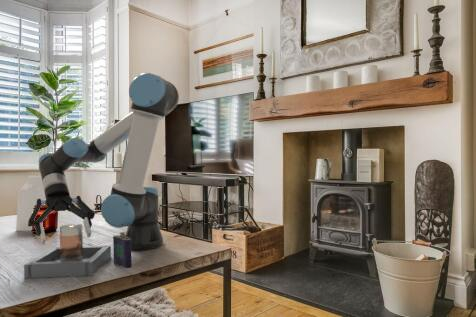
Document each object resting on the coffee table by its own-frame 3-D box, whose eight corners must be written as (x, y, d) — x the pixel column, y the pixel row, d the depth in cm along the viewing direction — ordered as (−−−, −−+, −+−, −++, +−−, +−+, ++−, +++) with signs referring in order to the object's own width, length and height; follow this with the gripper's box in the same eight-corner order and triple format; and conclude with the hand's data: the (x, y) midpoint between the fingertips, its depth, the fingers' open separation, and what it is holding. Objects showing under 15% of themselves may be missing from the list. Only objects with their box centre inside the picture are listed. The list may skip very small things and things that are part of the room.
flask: (111, 263, 111) (111, 230, 111) (120, 260, 113) (119, 229, 113) (126, 269, 105) (126, 234, 105) (134, 266, 107) (134, 233, 107)
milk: (54, 226, 173) (54, 175, 173) (39, 231, 161) (38, 176, 161) (32, 225, 174) (32, 175, 174) (16, 230, 162) (15, 177, 162)
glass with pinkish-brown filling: (81, 259, 112) (80, 223, 112) (84, 264, 107) (84, 226, 107) (59, 262, 108) (58, 225, 108) (61, 268, 103) (61, 229, 103)
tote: (110, 256, 118) (110, 245, 118) (92, 275, 99) (92, 262, 99) (54, 258, 116) (54, 247, 116) (24, 278, 97) (24, 264, 97)
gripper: (90, 193, 131) (103, 238, 119) (13, 198, 114) (21, 252, 103) (94, 180, 127) (109, 226, 115) (15, 184, 110) (23, 238, 99)
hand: (67, 238), depth 109 cm, fingers open, 13 cm apart
